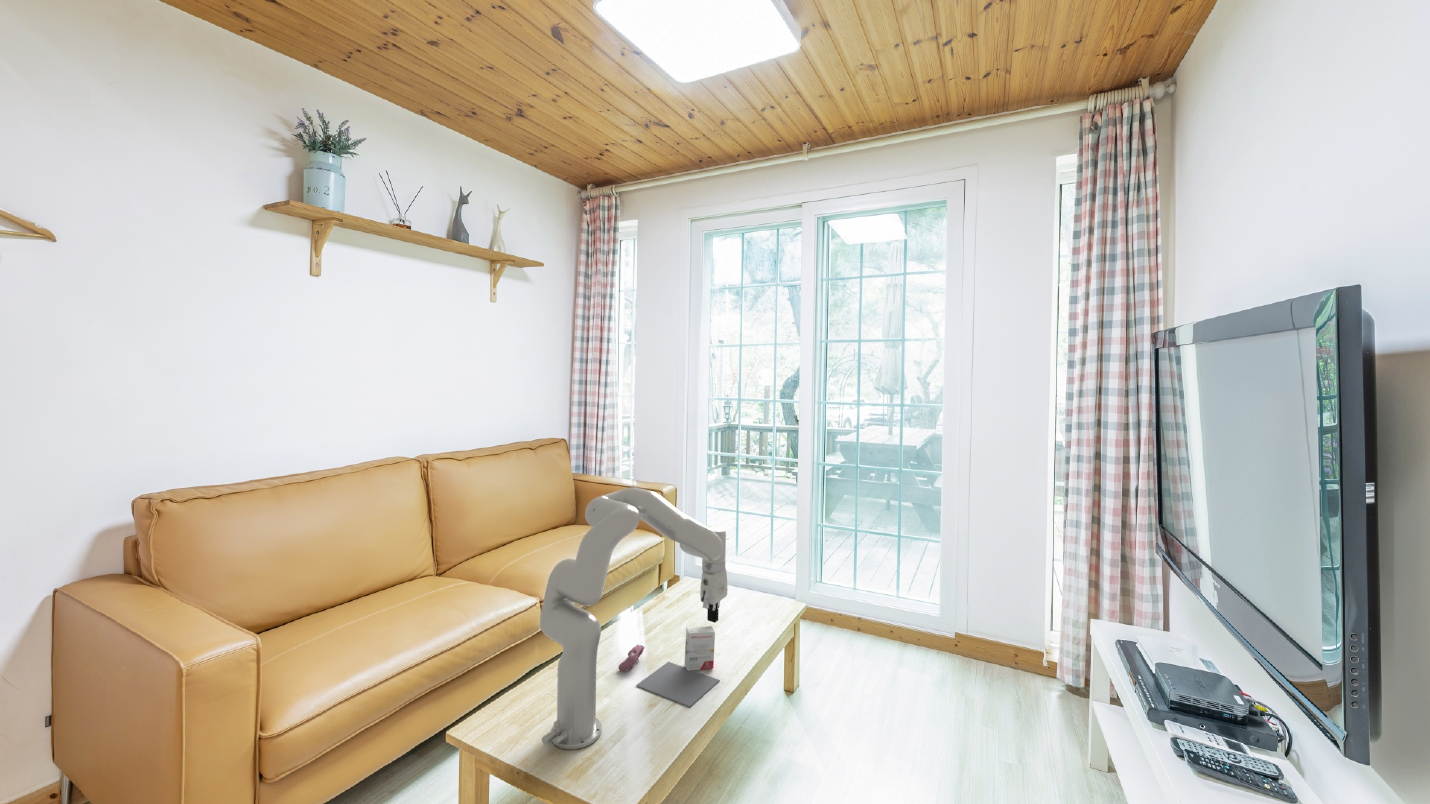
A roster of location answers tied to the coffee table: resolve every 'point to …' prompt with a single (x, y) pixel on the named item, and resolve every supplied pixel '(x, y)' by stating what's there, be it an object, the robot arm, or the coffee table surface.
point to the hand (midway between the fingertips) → (712, 620)
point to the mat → (678, 684)
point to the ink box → (699, 648)
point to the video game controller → (631, 658)
